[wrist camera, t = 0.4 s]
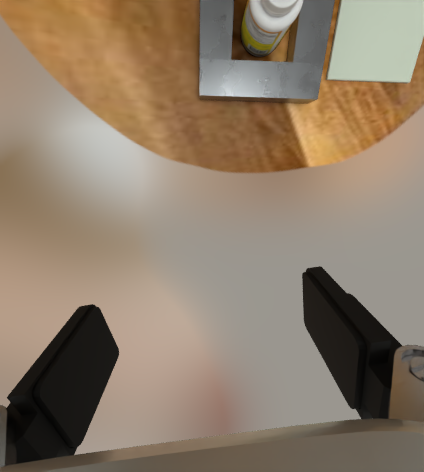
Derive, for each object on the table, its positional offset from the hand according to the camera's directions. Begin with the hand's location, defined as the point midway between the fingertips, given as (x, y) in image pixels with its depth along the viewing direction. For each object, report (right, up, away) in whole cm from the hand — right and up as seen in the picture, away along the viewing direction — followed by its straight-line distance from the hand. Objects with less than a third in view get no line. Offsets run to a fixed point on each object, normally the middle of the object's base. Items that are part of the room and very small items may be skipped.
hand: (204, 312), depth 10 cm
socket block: (+7, +31, +20) cm, 37 cm away
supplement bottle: (+7, +31, +20) cm, 37 cm away
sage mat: (+23, +32, +19) cm, 44 cm away
